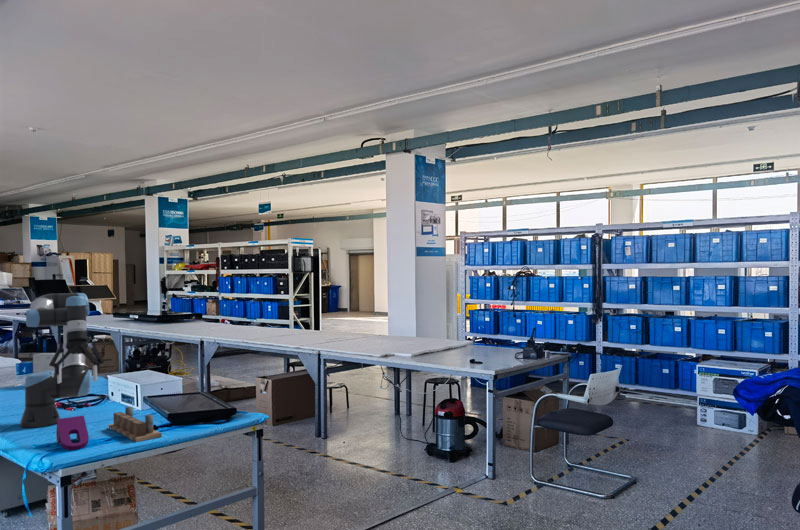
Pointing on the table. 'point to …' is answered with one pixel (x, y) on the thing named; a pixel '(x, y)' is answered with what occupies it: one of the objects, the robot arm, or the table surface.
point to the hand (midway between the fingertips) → (77, 382)
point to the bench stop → (134, 426)
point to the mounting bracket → (72, 432)
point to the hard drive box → (44, 362)
